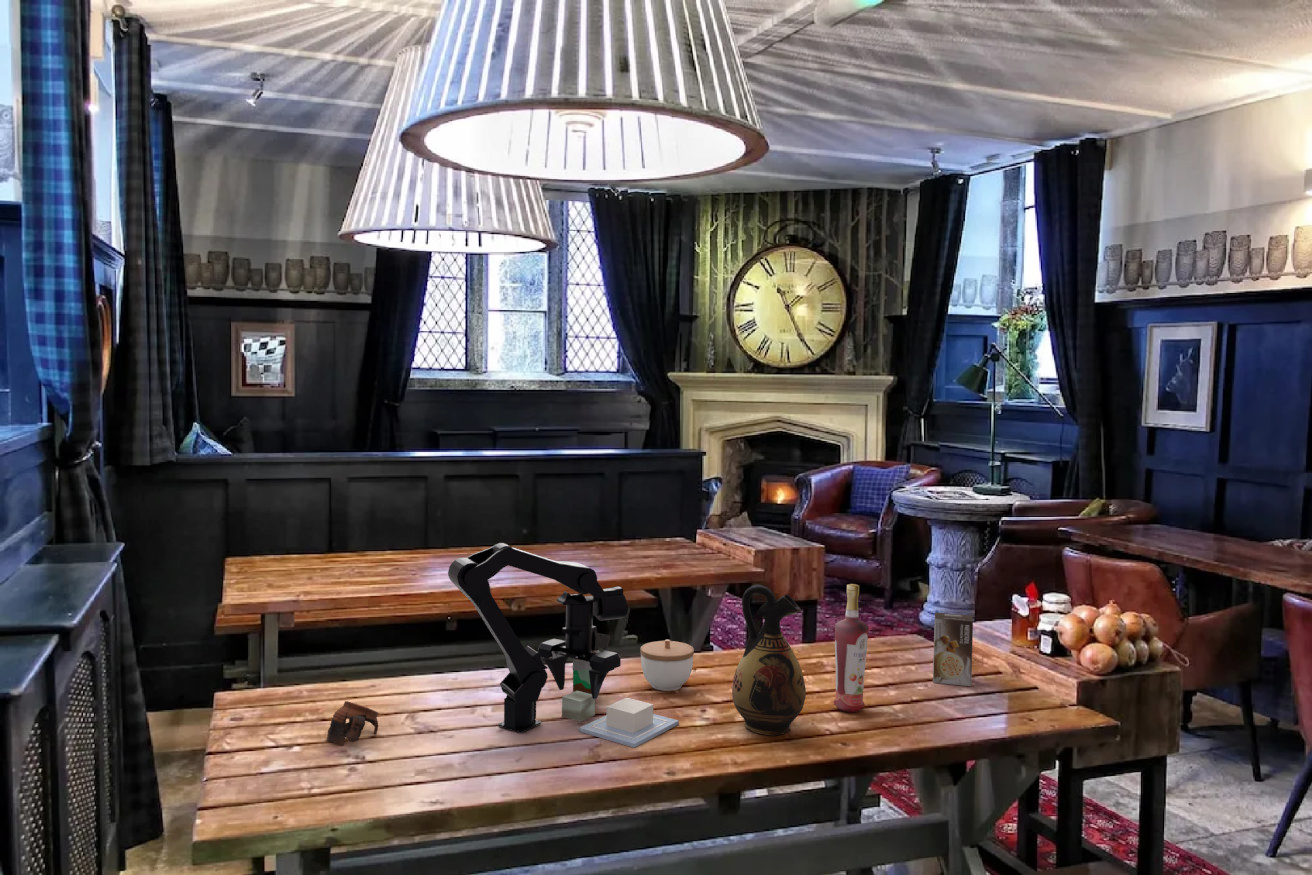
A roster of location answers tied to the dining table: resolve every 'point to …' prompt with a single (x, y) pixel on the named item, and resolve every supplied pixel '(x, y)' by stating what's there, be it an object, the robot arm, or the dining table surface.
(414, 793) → the dining table surface
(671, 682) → the lidded bowl
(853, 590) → the liquor
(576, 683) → the food container
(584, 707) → the sage block
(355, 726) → the brown bent piece
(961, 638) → the coffee box
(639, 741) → the blueprint board
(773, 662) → the ceramic jug
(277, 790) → the dining table surface
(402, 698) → the dining table surface
